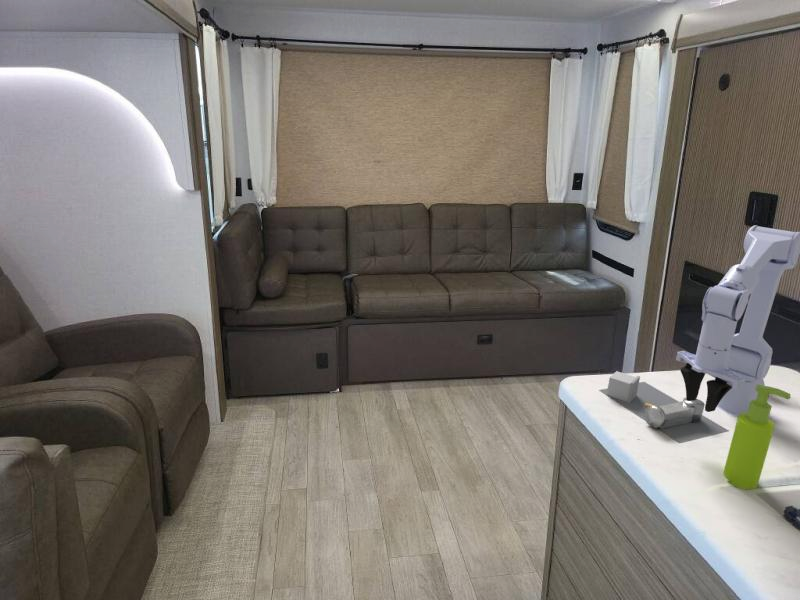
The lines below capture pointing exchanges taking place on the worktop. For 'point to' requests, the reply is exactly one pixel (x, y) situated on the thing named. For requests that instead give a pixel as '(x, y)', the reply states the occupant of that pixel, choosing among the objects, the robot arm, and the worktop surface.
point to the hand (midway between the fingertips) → (700, 405)
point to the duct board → (645, 395)
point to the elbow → (674, 413)
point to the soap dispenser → (751, 440)
